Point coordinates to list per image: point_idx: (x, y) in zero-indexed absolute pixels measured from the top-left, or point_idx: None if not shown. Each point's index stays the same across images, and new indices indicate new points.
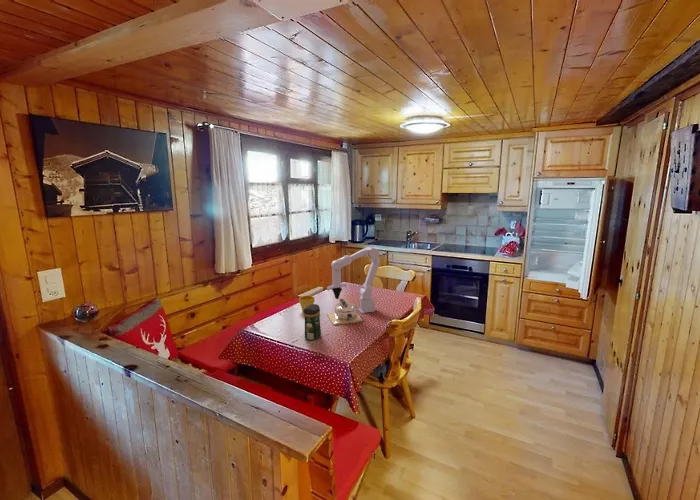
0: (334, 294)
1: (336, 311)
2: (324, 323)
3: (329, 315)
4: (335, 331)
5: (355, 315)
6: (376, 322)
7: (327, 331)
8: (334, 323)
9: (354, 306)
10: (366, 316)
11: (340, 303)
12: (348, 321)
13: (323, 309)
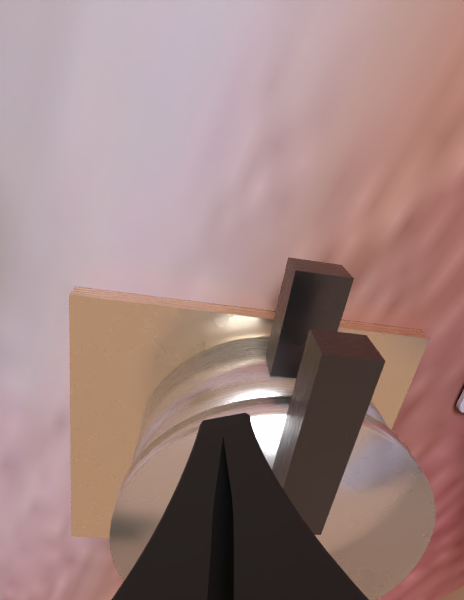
0: (173, 505)
1: None
2: (4, 467)
3: (89, 363)
4: (63, 596)
5: None
6: (409, 578)
7: (3, 582)
8: (83, 534)
9: (367, 580)
10: (432, 476)
11: (261, 435)
12: None
13: (83, 37)
